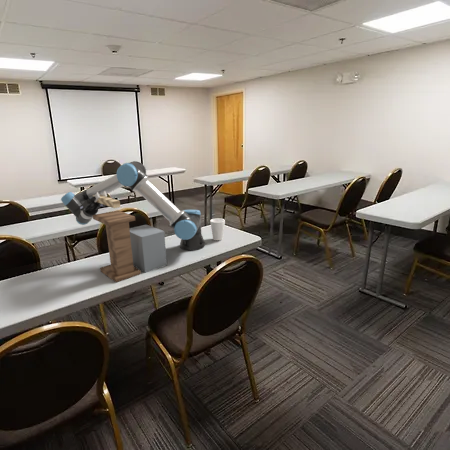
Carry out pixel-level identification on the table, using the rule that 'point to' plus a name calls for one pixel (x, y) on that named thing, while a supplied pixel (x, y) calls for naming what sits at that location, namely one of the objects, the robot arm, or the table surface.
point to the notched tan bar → (108, 201)
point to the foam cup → (217, 228)
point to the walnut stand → (118, 245)
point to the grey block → (148, 247)
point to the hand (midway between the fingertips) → (102, 194)
